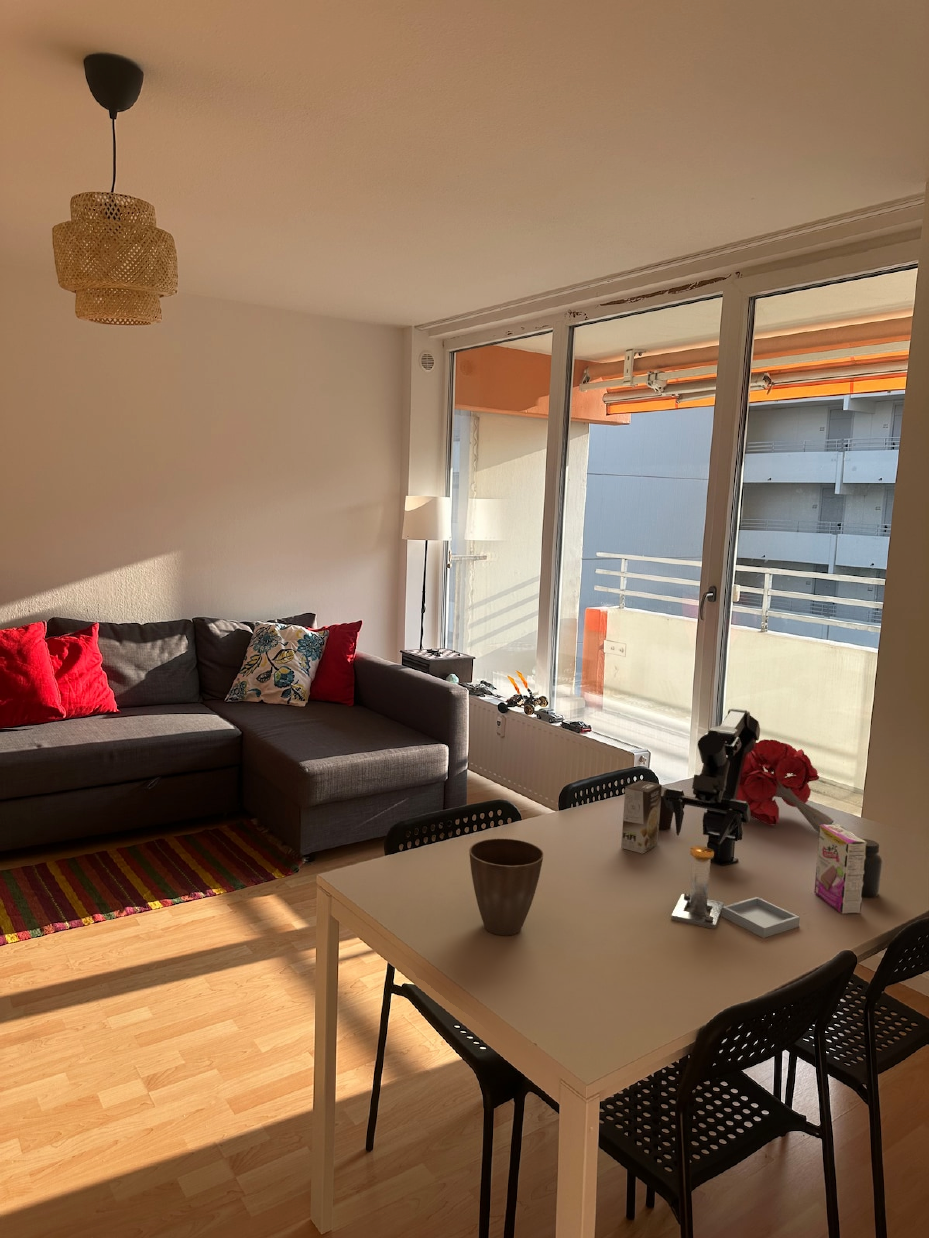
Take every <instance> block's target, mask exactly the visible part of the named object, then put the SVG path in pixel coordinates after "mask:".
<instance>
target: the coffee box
mask: <svg viewBox="0 0 929 1238" xmlns="http://www.w3.org/2000/svg"><path fill="white" fill-rule="evenodd" d="M662 787H663V785H662V784H660V783H656V782H651V781H646V780H645V781H644V780H641V779H639V780H637V781H636V782H634V783H631V784H629V785H627V786H624V802H623V817H622V830H621V844H620V845H621V849H624V850H628V851H631V852H636V853H638V854H645V853H647V852H648V851H649V850H651V849H652V848H654V847H655V846H657V845H658V843H659V832H660V830H659V818H660V804H661V790H662Z"/></svg>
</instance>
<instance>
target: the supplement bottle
mask: <svg viewBox="0 0 929 1238" xmlns="http://www.w3.org/2000/svg"><path fill="white" fill-rule="evenodd" d="M861 839H862V840H864V841H866V842H867V848H866V858H865V870H864V881H863V891H862V898H869V899H871V898H872V899H873V898H876V897H877V896H878V895H879V892H880V886H881V885H880V884H881V875H882V869H883V868H882V867H883V859H882V857H881V856H880V854H879V852H880V844H879V842H877V841H876V840H873V839H869V838H861Z"/></svg>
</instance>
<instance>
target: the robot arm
mask: <svg viewBox="0 0 929 1238" xmlns="http://www.w3.org/2000/svg"><path fill="white" fill-rule="evenodd" d="M760 735H761V728H760V722H759V721H758V720H757V719H756V718H755V717H753V716H752V715H751V712H750V711H747V709H739V708H734V707H733V708H729V709H728V711H727V714H726V716H725V718H724V720H723V721H722V723H721V724H720V725H717V726H716V725H715V726H712V727H711V728H709V729H708V731H707V732H705V734H704V735H702V736H701V737H700V738H699V739H698V741H697V748H698V752H699V757H700V760H701V763H702V764H703V765H702V768H701V771H700V773H699V774H694V775H693V780H692V784H691V785H692V786H691V789H692V795H693V796H694V797H693V796H692V797H691V796H687V795H685V793H684V790H683V789H680V788H674V787H669V786H668V787H667V789H666V790H665V791H664V794H663V798H664V801H665V804H666V807H667V808H669V809H670V810H671V812H673V815H674V819H675V820H674V821H675V831H676V833H675V834H676V836H677V837H679V835H680V834H681V832H682V831H681V830H682V826H683V821H684V817H685V816H684V815H685V812H684V809H685V806H690V807H695V808H700V809H706V810H704V813H703V816H702V835H703V836H707V843H706V847H708V848H710V849H712V850H713V851H714V857H713V858H711V859H710V862H712V863H714V864H716V865H719V866H721V867H722V866H727V865H730V864H733V863H738V862H739V860H740V859H739V858H737V857H735V846H736V845H735V844H736V842H738V841H742V840H743V833H744V832H743V824H750V819H751V816H750V808H749V804H748V803H747V802H746V801H741V800H736V797H737V793H738V789H739V784H740V780H741V775H742V771H743V767H744V762H745V758H746V755H747V754H748V753H749V752H751V751H752V750H753V749H754V747H755V744H756V743H757V741H758V742H759V741H760V740H759V739H760Z"/></svg>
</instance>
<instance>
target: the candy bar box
mask: <svg viewBox="0 0 929 1238" xmlns="http://www.w3.org/2000/svg"><path fill="white" fill-rule="evenodd" d="M862 839H863V838H861V837H859V836H858V835H856V834H854V833H852V832H851V831H850V830H848V829H846V828H845V827H844V826H842V825H840V824H839V823H837V824H836V823H834V824H833V823H832V824H827V825H826V824H823V825H820V830H819V832H818V844H817V845H818V846H817V856H816V870H815V881H814V890H813V892H814V894H815V895H816V896H818V897H820V898H821V900H823V901H824V902H826V903H827V904H828V905H830V906H831V907H832V908H834V909H835V910H836V911H837V912H839V913H840V914H841V915H852V914H861V911H862V901H863V897H862V891H863V881H864V870H865V858H866V848H867V842H866V841H864V840H862Z"/></svg>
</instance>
